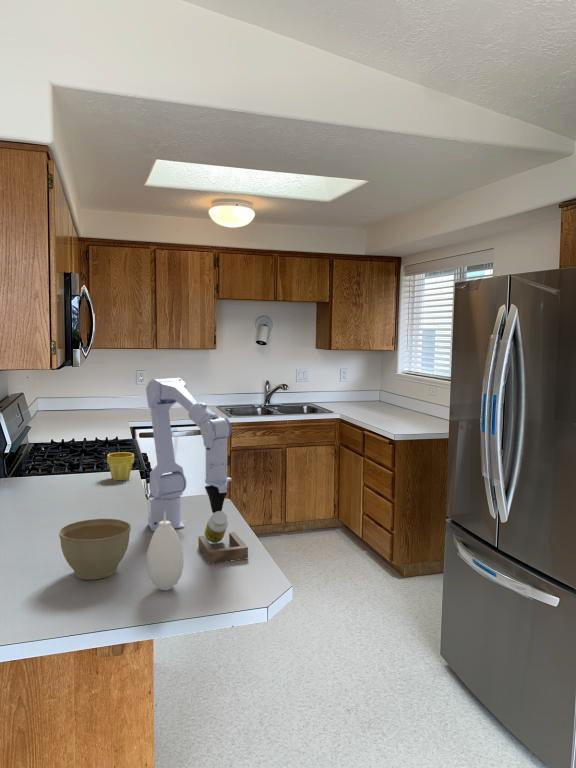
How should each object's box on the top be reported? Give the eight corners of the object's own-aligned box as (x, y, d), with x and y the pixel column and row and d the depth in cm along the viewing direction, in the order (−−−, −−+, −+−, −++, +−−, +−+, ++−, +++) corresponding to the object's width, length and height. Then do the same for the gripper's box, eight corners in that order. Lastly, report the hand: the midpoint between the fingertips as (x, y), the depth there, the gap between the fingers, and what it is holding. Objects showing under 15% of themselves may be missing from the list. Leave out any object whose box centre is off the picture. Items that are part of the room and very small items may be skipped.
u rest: (209, 564, 145) (209, 552, 144) (198, 547, 156) (198, 536, 156) (247, 558, 148) (247, 547, 148) (234, 542, 160) (234, 531, 160)
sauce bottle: (166, 599, 125) (165, 517, 124) (140, 591, 129) (139, 511, 128) (190, 586, 132) (189, 508, 130) (165, 578, 136) (164, 503, 134)
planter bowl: (132, 582, 134) (131, 536, 133) (57, 590, 129) (55, 542, 128) (130, 556, 149) (129, 515, 148) (63, 563, 145) (62, 520, 144)
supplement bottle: (226, 531, 163) (233, 514, 156) (217, 546, 159) (224, 530, 152) (209, 522, 163) (215, 505, 156) (200, 537, 159) (206, 520, 152)
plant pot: (140, 477, 232) (139, 453, 232) (119, 483, 224) (119, 458, 223) (122, 474, 238) (121, 450, 237) (101, 479, 229) (101, 455, 228)
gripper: (238, 467, 151) (238, 518, 152) (223, 456, 164) (224, 503, 165) (211, 469, 148) (212, 521, 149) (199, 458, 162) (199, 506, 163)
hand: (216, 512), depth 157 cm, fingers closed
